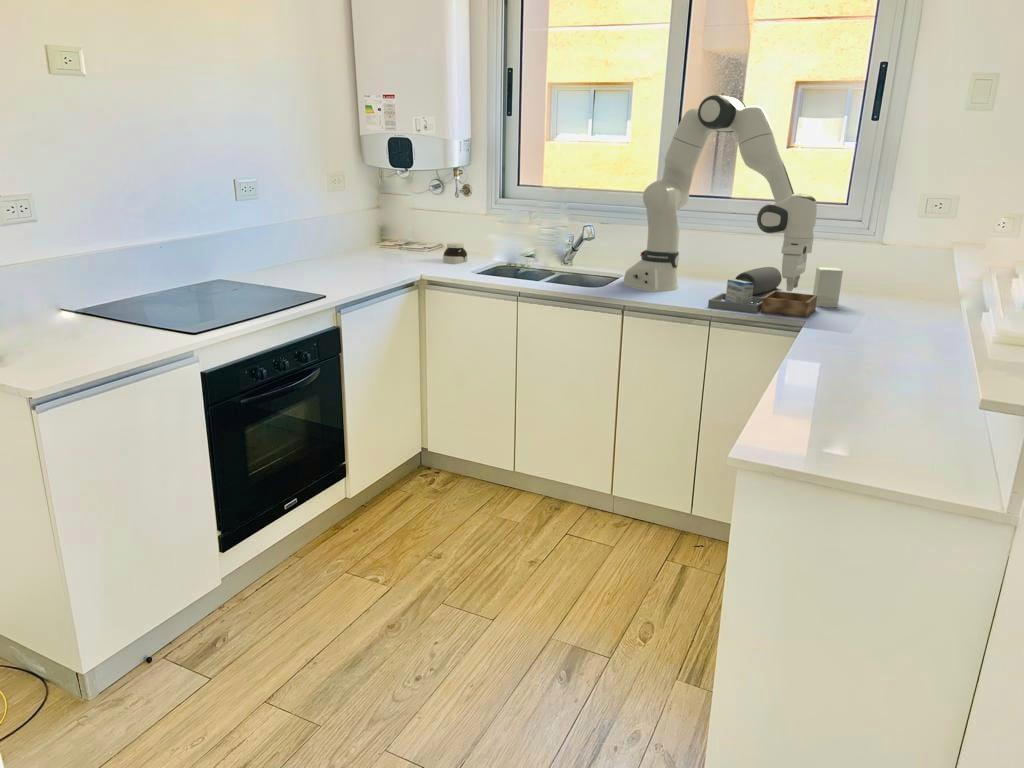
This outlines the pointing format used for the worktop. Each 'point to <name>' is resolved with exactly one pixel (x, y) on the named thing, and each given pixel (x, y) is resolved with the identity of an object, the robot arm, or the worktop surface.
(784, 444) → the worktop surface
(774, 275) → the bluetooth speaker
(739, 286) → the medicine box
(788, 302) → the walnut crate
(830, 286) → the supplement box
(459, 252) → the spread jar
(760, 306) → the tray
